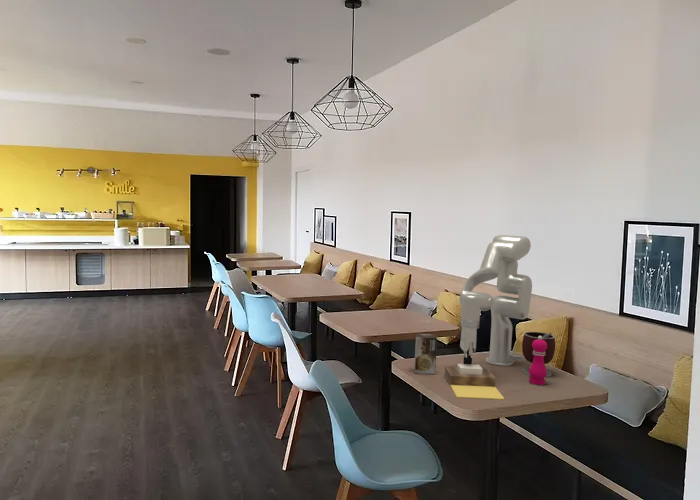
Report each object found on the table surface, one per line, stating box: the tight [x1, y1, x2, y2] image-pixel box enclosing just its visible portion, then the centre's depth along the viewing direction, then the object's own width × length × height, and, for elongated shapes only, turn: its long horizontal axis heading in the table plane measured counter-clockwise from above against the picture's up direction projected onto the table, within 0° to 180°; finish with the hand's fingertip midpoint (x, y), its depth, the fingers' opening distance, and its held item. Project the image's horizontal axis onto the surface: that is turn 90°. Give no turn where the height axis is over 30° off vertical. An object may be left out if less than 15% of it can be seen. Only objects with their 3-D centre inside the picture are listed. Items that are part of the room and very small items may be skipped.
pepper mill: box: [528, 336, 548, 386], centre depth 230 cm, size 7×7×20 cm
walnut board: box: [444, 365, 496, 387], centre depth 229 cm, size 18×14×4 cm
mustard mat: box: [449, 384, 506, 401], centre depth 215 cm, size 18×14×1 cm
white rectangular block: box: [456, 363, 483, 375], centre depth 228 cm, size 9×6×2 cm, turn 90°
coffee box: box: [413, 333, 438, 375], centre depth 240 cm, size 9×6×16 cm
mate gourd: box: [521, 331, 556, 378], centre depth 244 cm, size 16×14×20 cm
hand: (467, 366), depth 233 cm, fingers closed
